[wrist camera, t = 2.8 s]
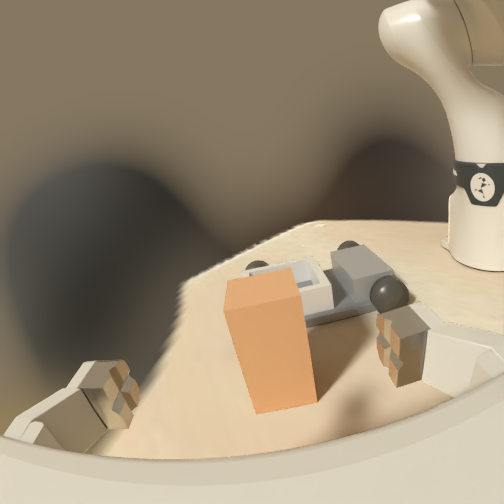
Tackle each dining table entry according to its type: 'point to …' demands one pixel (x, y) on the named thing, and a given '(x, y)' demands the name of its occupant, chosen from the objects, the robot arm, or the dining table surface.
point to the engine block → (271, 340)
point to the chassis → (341, 284)
